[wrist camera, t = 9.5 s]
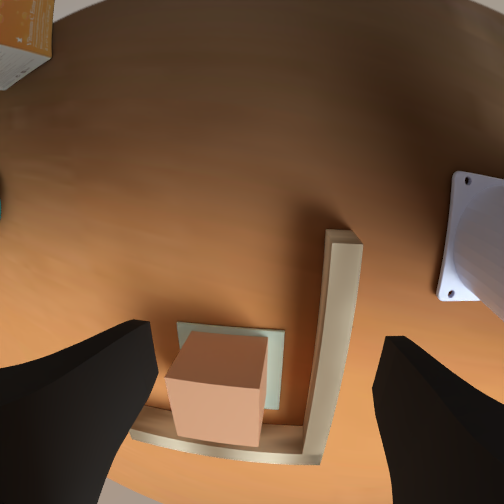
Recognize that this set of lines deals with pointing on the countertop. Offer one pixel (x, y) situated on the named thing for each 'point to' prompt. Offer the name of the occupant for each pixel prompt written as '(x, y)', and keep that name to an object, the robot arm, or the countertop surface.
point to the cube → (219, 388)
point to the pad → (273, 335)
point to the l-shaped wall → (321, 382)
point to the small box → (24, 38)
